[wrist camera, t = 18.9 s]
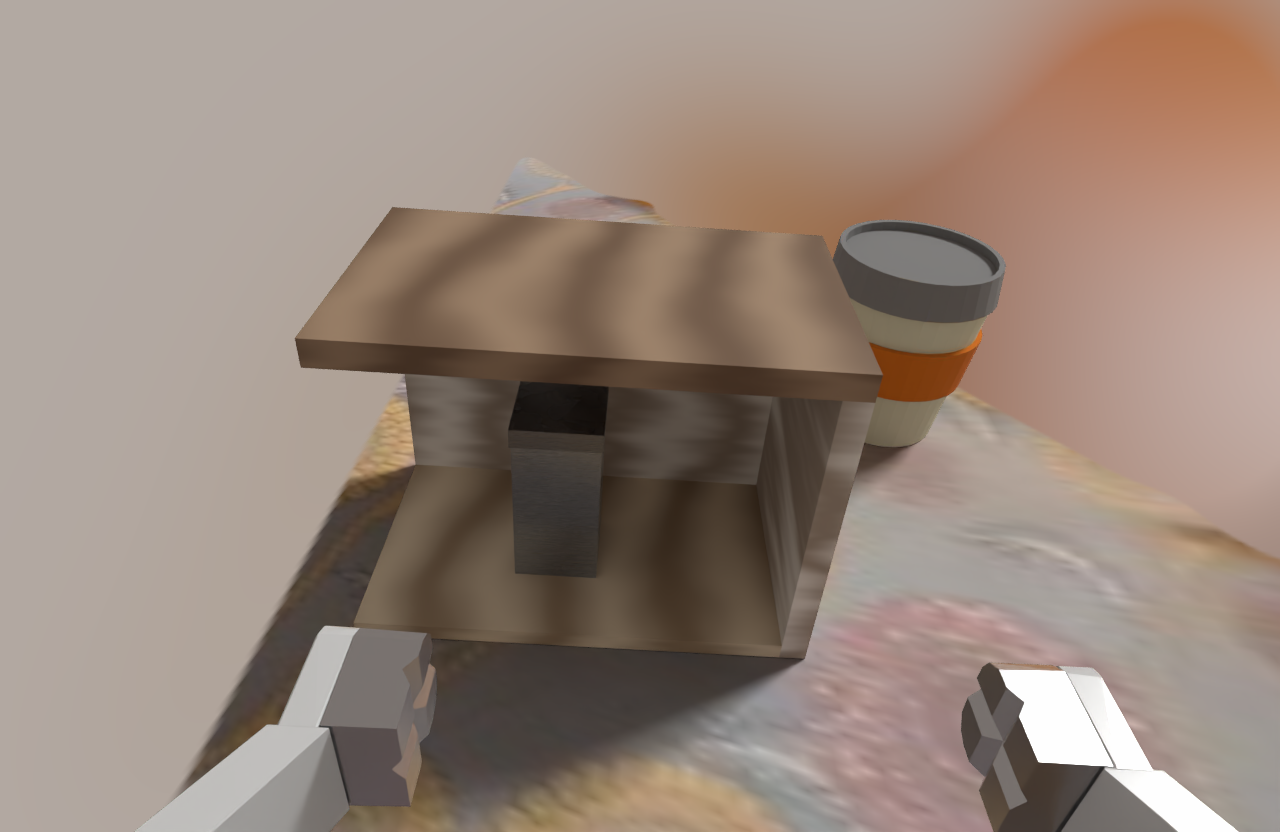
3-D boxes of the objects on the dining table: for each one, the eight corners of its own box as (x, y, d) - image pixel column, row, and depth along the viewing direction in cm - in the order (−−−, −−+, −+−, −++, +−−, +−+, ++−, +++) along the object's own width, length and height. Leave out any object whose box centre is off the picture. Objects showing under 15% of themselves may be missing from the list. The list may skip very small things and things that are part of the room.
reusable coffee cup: (772, 392, 71) (802, 229, 62) (883, 365, 76) (925, 211, 67) (865, 476, 62) (915, 299, 53) (984, 440, 67) (1047, 272, 58)
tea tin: (602, 522, 54) (609, 384, 48) (597, 579, 50) (604, 436, 44) (524, 517, 54) (521, 378, 48) (513, 574, 50) (507, 429, 44)
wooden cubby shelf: (772, 483, 60) (822, 235, 49) (804, 658, 47) (882, 375, 36) (421, 462, 60) (392, 207, 49) (355, 634, 47) (294, 338, 35)
